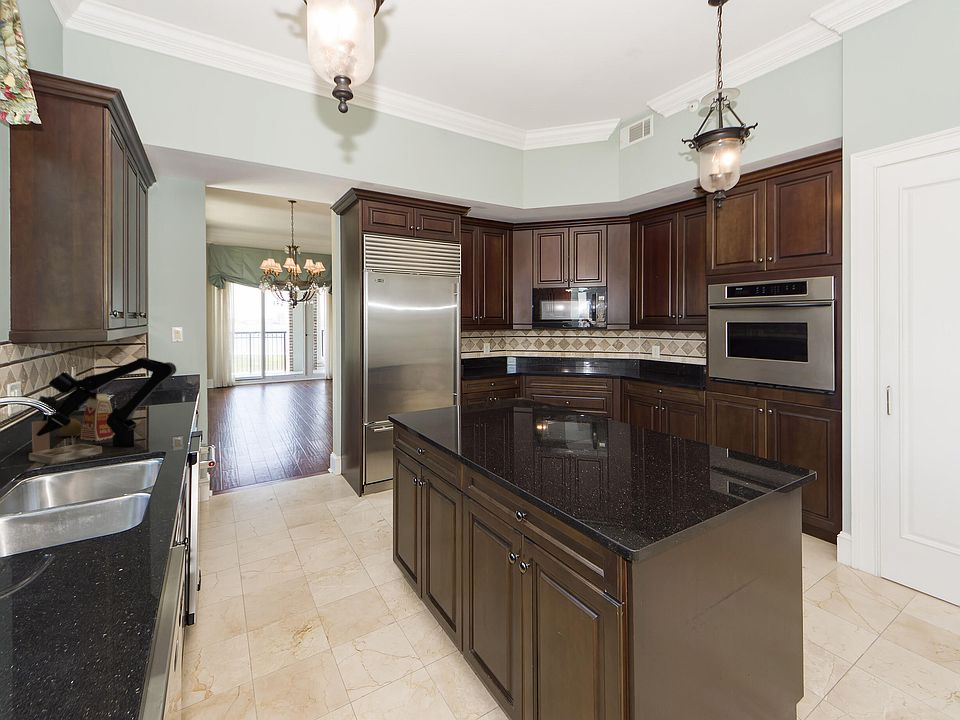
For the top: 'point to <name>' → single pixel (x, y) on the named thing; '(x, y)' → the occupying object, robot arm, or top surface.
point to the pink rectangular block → (39, 437)
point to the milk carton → (97, 419)
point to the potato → (72, 428)
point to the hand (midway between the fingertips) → (35, 433)
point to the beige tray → (65, 453)
